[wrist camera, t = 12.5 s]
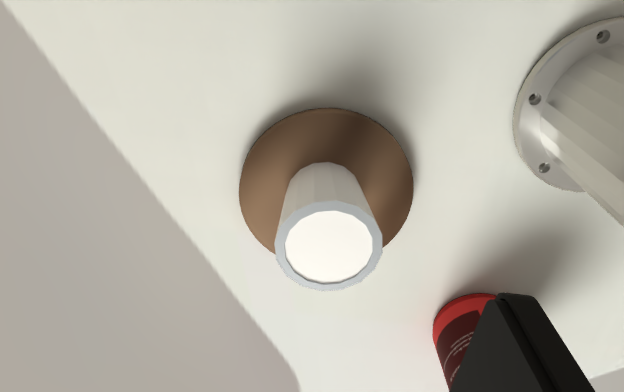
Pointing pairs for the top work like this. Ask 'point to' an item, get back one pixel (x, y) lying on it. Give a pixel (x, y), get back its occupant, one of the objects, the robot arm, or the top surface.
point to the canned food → (457, 331)
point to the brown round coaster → (317, 149)
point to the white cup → (327, 229)
